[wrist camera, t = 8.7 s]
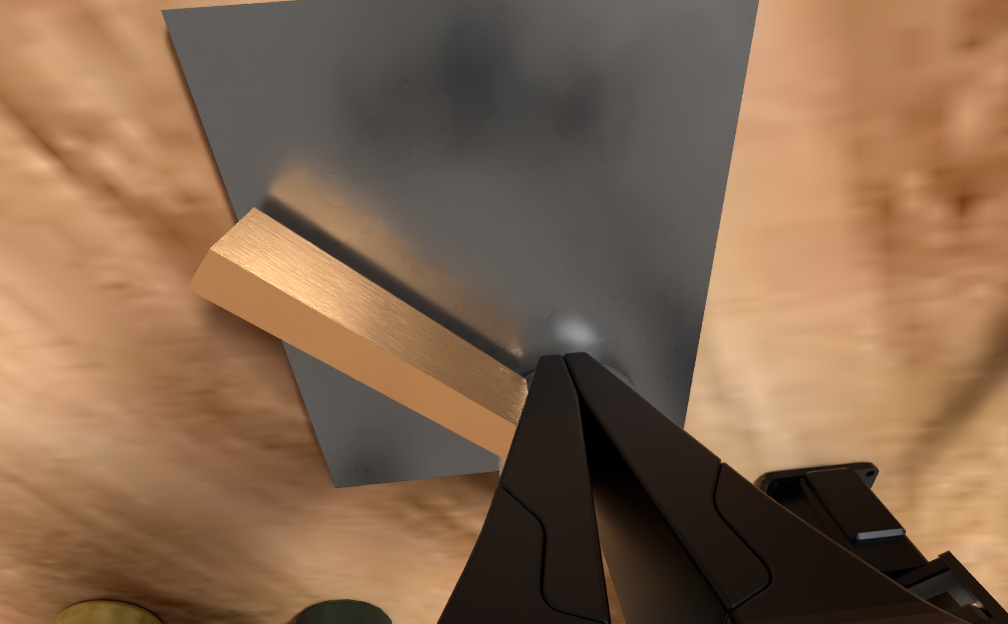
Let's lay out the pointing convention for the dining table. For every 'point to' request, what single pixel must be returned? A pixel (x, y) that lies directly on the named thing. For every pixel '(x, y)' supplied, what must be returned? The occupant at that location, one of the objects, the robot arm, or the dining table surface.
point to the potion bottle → (343, 613)
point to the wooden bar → (362, 330)
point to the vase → (105, 614)
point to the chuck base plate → (483, 180)
